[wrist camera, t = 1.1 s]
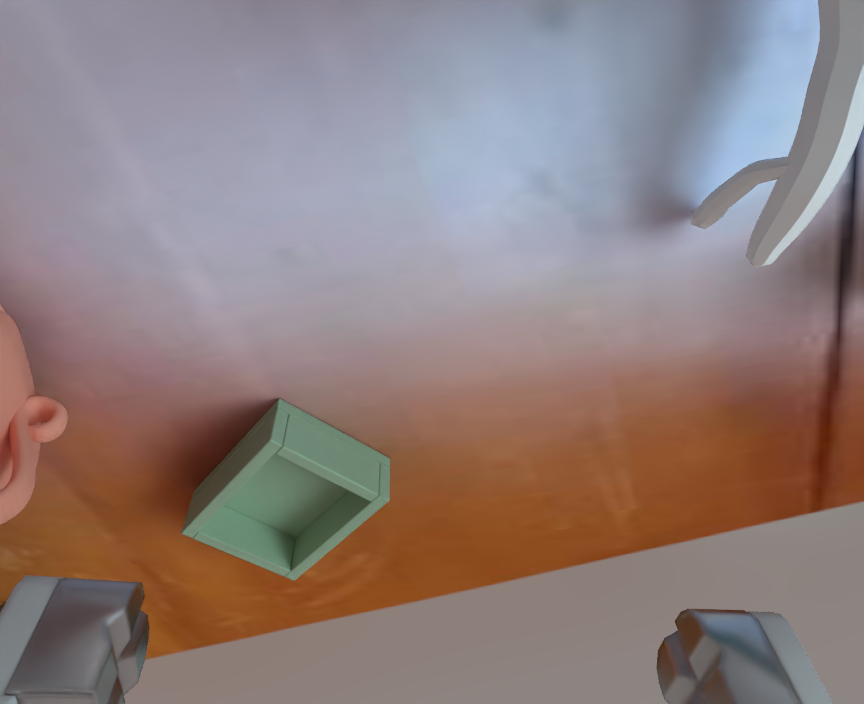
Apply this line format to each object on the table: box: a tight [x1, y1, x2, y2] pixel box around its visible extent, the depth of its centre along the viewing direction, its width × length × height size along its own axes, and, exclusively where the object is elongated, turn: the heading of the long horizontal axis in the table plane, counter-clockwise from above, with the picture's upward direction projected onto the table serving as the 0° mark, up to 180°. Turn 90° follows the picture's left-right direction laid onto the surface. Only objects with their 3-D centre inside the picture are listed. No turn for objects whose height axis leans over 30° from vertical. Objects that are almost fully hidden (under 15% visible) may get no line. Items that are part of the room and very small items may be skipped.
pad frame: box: [181, 399, 390, 580], centre depth 31 cm, size 6×8×3 cm
